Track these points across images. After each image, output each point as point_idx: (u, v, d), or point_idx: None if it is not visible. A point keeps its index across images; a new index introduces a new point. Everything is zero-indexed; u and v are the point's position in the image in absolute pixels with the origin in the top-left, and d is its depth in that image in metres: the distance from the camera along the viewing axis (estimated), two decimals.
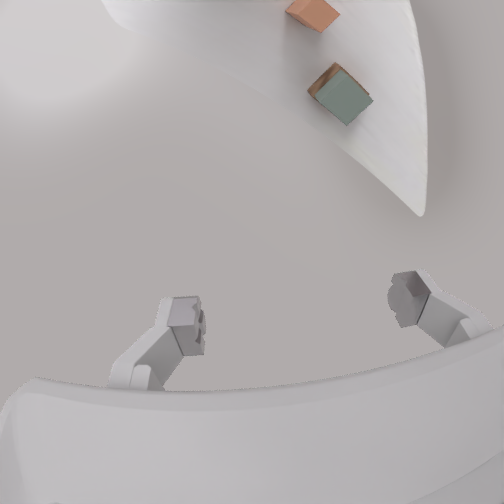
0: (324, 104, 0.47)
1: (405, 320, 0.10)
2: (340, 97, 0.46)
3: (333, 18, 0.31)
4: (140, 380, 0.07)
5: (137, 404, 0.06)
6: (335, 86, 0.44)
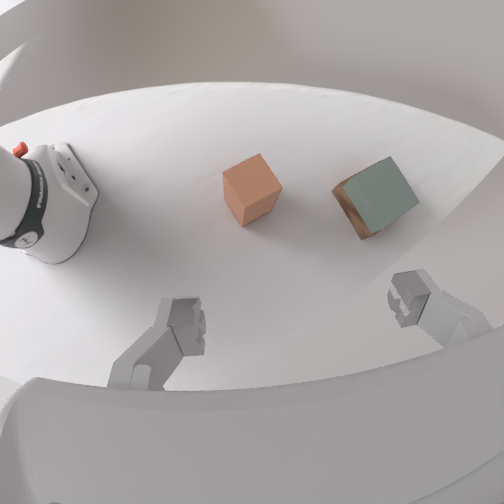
0: (388, 222, 0.35)
1: (406, 320, 0.10)
2: (381, 197, 0.35)
3: (263, 163, 0.32)
4: (139, 380, 0.07)
5: (137, 404, 0.06)
6: (366, 199, 0.35)
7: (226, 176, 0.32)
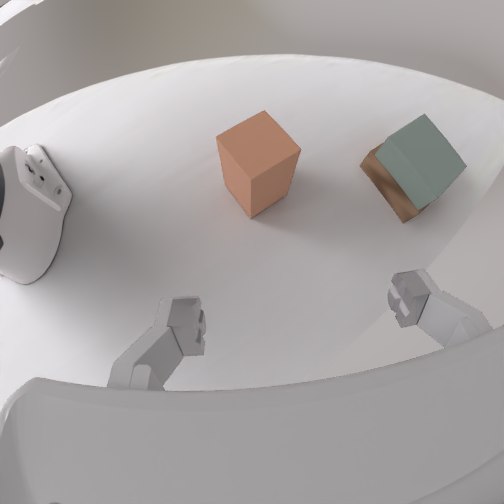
0: (439, 191, 0.24)
1: (406, 320, 0.10)
2: (426, 161, 0.25)
3: (271, 122, 0.22)
4: (140, 380, 0.07)
5: (137, 404, 0.06)
6: (408, 163, 0.25)
7: (221, 141, 0.22)
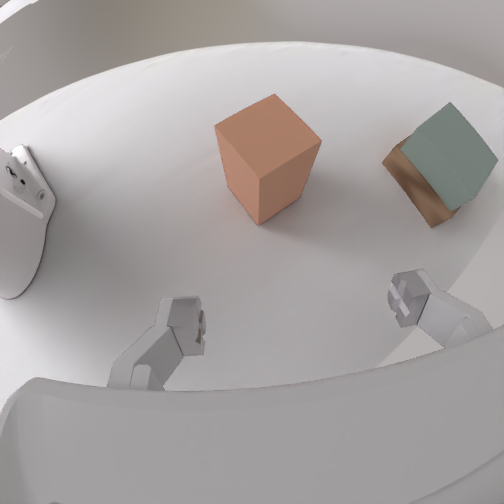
0: (476, 189, 0.19)
1: (406, 320, 0.10)
2: (459, 155, 0.20)
3: (283, 107, 0.18)
4: (140, 380, 0.07)
5: (137, 404, 0.06)
6: (441, 158, 0.20)
7: (221, 130, 0.17)
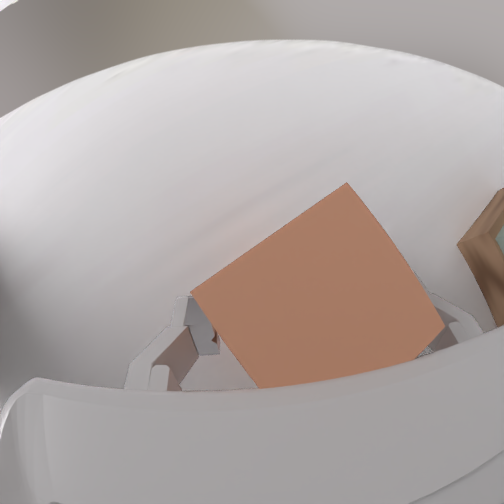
0: None
1: None
2: None
3: (371, 230, 0.07)
4: (158, 381, 0.07)
5: (137, 404, 0.06)
6: None
7: (210, 312, 0.07)
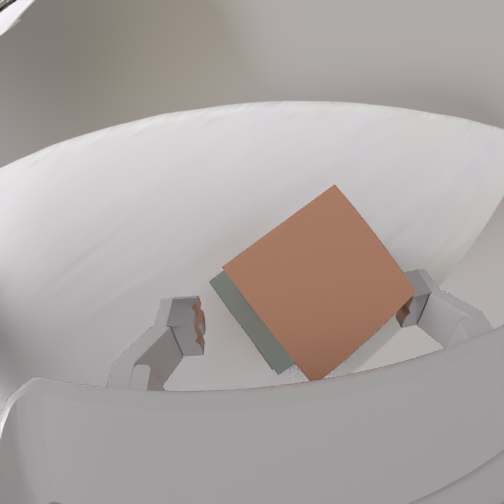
0: (288, 363, 0.18)
1: (406, 320, 0.10)
2: None
3: (353, 219, 0.10)
4: (139, 380, 0.07)
5: (137, 404, 0.06)
6: None
7: (237, 281, 0.09)
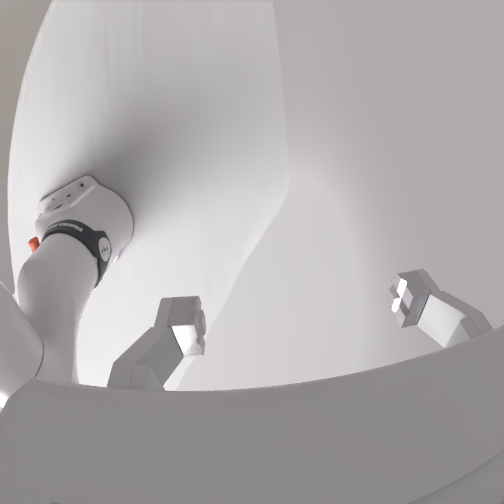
0: None
1: (406, 320, 0.10)
2: None
3: None
4: (140, 380, 0.07)
5: (137, 404, 0.06)
6: None
7: None
